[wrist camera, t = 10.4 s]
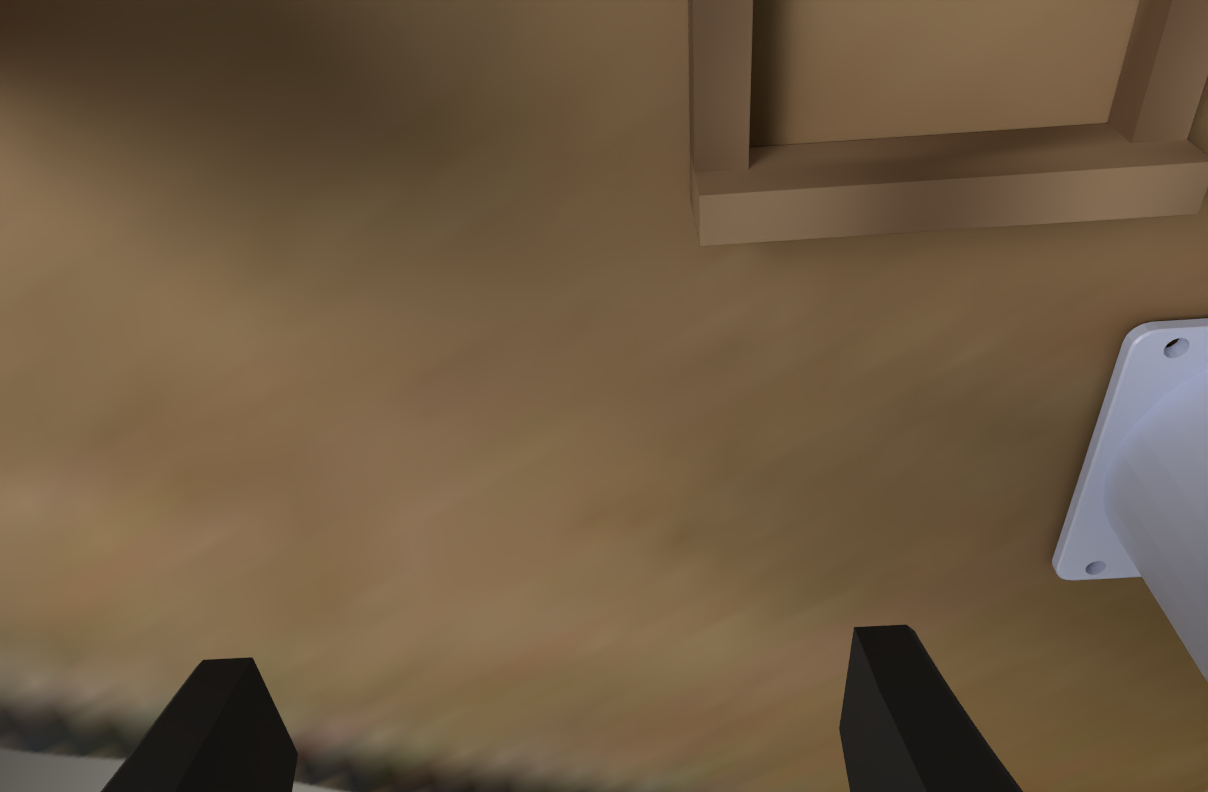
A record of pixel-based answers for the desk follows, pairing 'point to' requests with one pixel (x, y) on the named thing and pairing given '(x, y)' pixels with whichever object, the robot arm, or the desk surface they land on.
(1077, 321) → the desk surface
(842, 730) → the robot arm
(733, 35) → the frame
